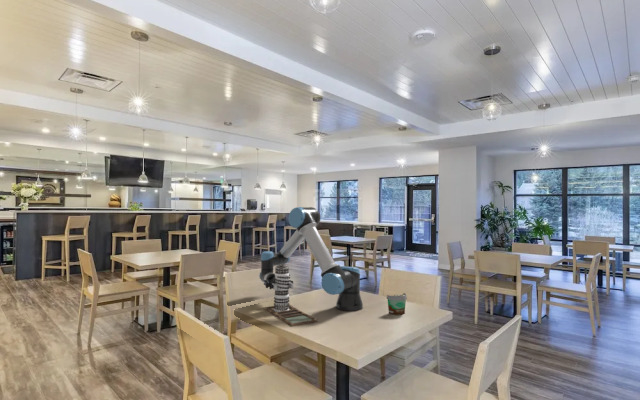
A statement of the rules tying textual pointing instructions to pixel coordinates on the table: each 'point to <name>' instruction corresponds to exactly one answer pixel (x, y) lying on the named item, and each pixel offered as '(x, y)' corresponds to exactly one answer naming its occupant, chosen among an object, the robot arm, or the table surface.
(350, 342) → the table surface
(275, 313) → the brown flat rectangular frame
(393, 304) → the food container
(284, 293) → the decorative candle
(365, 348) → the table surface
